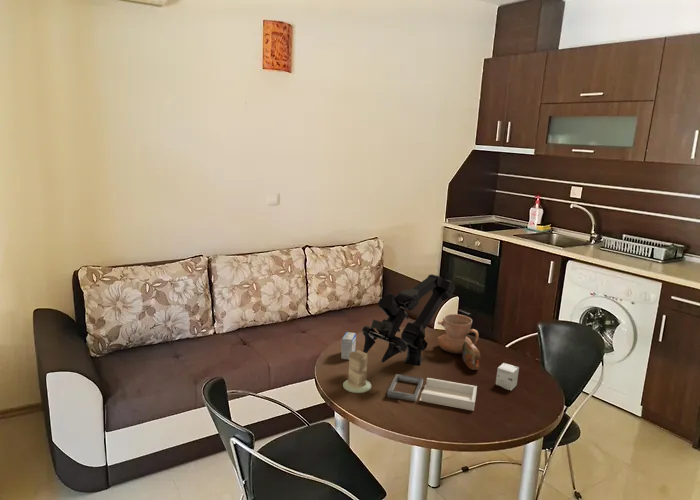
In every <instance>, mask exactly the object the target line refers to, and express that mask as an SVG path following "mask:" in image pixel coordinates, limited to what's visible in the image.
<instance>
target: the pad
mask: <svg viewBox="0 0 700 500" xmlns="http://www.w3.org/2000/svg"><path fill="white" fill-rule="evenodd" d="M342 386H343V389H344V390H345V391H347V392H349V393H352V394H353V393H354V394H364V393H366V392H369V391H371V389H372V384H371V382H370V381H368V380H367V379H366V385H365V386H363V387H361V388H359V389H356V388H354V387H352V386H350V385H348V379H346V380H345V381H343V383H342Z"/></svg>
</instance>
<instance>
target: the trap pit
mask: <svg viewBox="0 0 700 500" xmlns="http://www.w3.org/2000/svg"><path fill="white" fill-rule="evenodd" d="M398 382H404V383H410V384H411V383H412V384H416V385H417V386H416V388H415V391H414V394H413V393H409V392H403V391H399V390H398V391H397V390H394V389H395V387H396V385H397V383H398ZM423 384H424V378H421V377H417V376H410V375H405V374H398V373H395V376H394V378H393V379H392V381H391V383H390V386H389V387H388V389H387V392H386V393H387V395H386V398H388V399H392V400H398V401H400V400H406V401H410V402H411V401H412V402H417V400H418V398H419V395H420V392H421V390H422V387H423Z"/></svg>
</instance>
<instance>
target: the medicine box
mask: <svg viewBox="0 0 700 500" xmlns="http://www.w3.org/2000/svg"><path fill="white" fill-rule="evenodd" d="M356 334H357V333H356V332H349V331H346V332H345V333H344V336H342V338H341V349H340V350H341V352H340V355H341V356H340V357H341V359H342V360H348V361H349V353H351V352H354V351H356V346H357V345H356V341H357V335H356Z"/></svg>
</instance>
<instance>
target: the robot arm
mask: <svg viewBox="0 0 700 500" xmlns="http://www.w3.org/2000/svg"><path fill="white" fill-rule="evenodd" d="M431 291H432V294H431V295H430V297H429V299H428V301H427V302H426V303H425V305H424V307H423V308H422V310H421V311H420V313H419V315H418V316H417V317H416V319H415V321H414V322H407V323H406V325H405V326H404V328H402V332H401V329H400V327H401V325H402V324H403V322H404V320H405V319H407V320H408V319H410V318H409V314H408V313H409V312H408V311H413V310H414V309H415V308H416V307H417V306H418V305H419V302H420V301H419V300H421V299H422V298H423V297H424V296H425V295H427V294H429V293H430V292H431ZM455 291H456V285H455V283H454V281H451V280H449V279H445V278H442V277H441V276H440V275H436V274H433V273H432V274H428V275H427V277H426V278H425V279H424V280H422V281H421V282H419V283H418V284H417V285H415V286H414V287H412V288H410V289H405V290H402V291H400V292H399V293H397V294H396V295H394V294H393V293H390V292H389V293H387V295H384V296H382V297H381V298H380V299H379V301H378V307H379V308H380V309H381V311H382V312H383V313H384V314H385V315H386V316H387V317H386V319H385V318H383V320H382V321H381V320H376V319H372V323H371V325H370V326H368V325H364V326H363V327H362V329H361V332H362V335H363V336H364V346H363V350H362V352H364V353H367V354H368V352H369V351H370V350H371V349H372V348H373V346H374V344H376V341H375V340H377V339H378V340H381V341H385V342H387V343H388V347H387V349H386V351H385V353H384V354H383V356H382V358H381V360H380V361H381V363H385V362H387V361H388V360H389V359H391V358H393V357H394V356H395V355H397V354H399V353H402V352H404V353H405V352H406V356H405V359H404V364H410V365H411V364H412V365H416V366H421V364H422V362H423V360H424V358H423V357H422V351H425V350H426V349H427V348H428V342H427V341H426V339H425V338H426V328H427V327H428V326H429V323H430V322H431V321H432V319H433V317H434V316H435V314H436V312H437V311H438V309H439V308H440V306H441V304H442V303H443V302H444V301H446V300H447V299H449V298H451V296H452V295H453V294H454V292H455ZM405 309H406V310H405ZM407 310H408V311H407ZM400 332H401V335H400V336H401V337H399V336H396V334H397V333H400Z"/></svg>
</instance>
